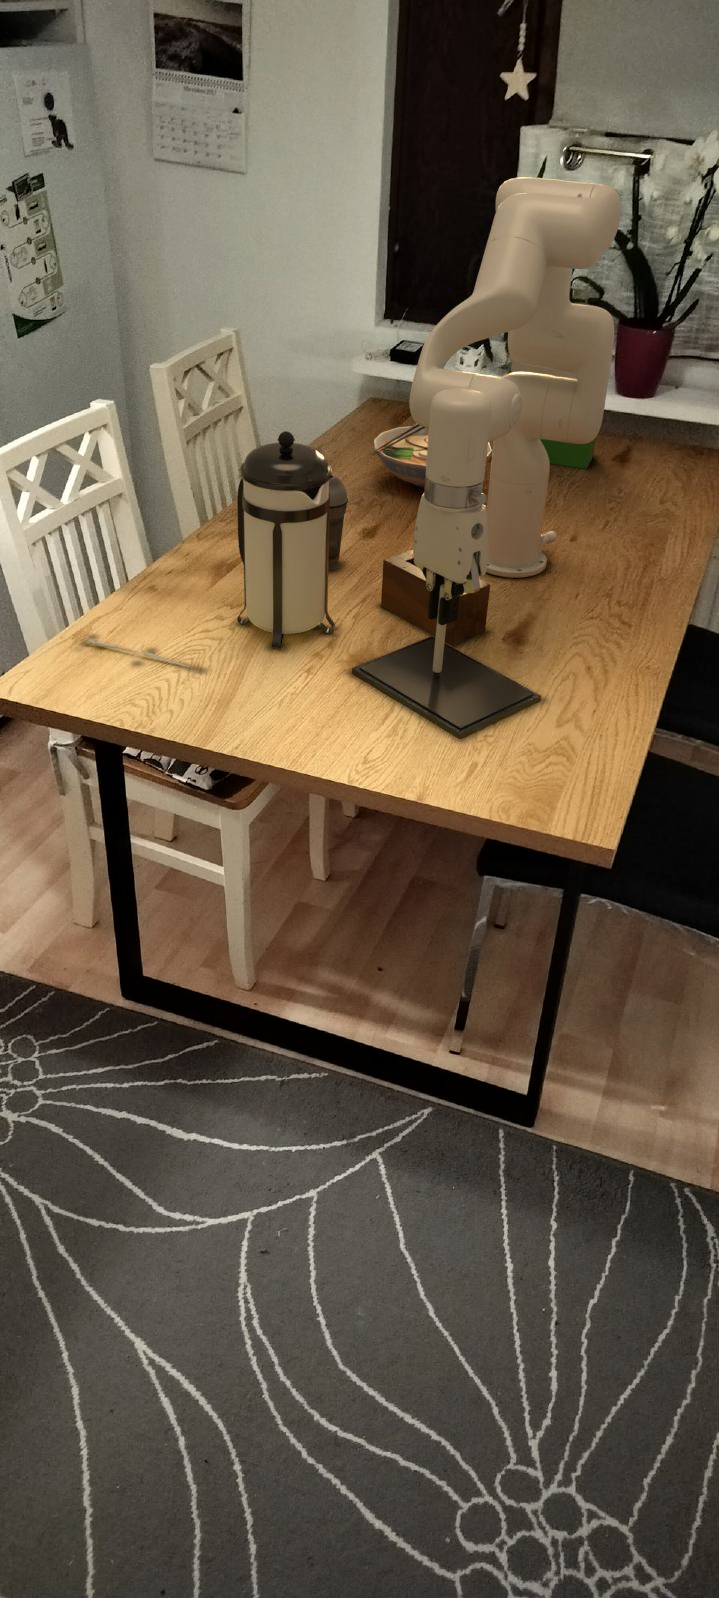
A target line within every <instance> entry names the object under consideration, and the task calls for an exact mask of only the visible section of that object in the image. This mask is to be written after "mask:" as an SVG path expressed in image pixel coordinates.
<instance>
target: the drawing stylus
mask: <svg viewBox="0 0 719 1598" xmlns="http://www.w3.org/2000/svg"><path fill="white" fill-rule="evenodd" d="M444 588H445V584H443V585H441V586H440V595H439V604H440V598H442V597H444ZM438 616H439V606H438ZM445 632H446V624H445V625H440V624H439V623H438V617H437V627H436V636H435V637H434V638H435V649H434V660H433V671H434V675H433V676H434V678H439V677H440V672H441V671H442V663H443V652H444V643H446V641H445Z"/></svg>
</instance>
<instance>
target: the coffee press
mask: <svg viewBox="0 0 719 1598" xmlns="http://www.w3.org/2000/svg"><path fill="white" fill-rule="evenodd" d="M295 441H296V439H295V437H294V435H293V434H292V432H290V431H287V430H285V431H282V432H281V433H279V435H278V438H277V442H272V443H266V444H263V445H260V446H258V447H255V448H254V449H253V450H251V451H250V452H249V453H248V454H247V455H246V457H245V459H244V461H243V462H242V463H241V465H240V469H239V471H240V473H239V474H240V476H241V479H240V481H239V484H238V487H237V497H236V498H237V540H238V541H237V542H238V551H239V554H240V559H241V562H242V565H243V585H244V586H243V588H244V589H243V590H244V591H243V592H244V607H243V609H242V610H241V611H240V612H239V614H238V616H237V619H236V620H237V623H238V624H240V625H246V624H247V623H248V622H251V623H252V624H253V625H254V626H255V627H257V628H258V629H261V630H263V631H265V632H269V633H272V636H271V648H273V649H282V647H283V641H284V636H285V635H292V634H300V633H304V632H307V631H310V630H312V629H315V628H316V627H319V628H320V629H321V630H322V631H323V632H325V633H326V634H332V633H333V632H334V630H335V627H336V623H335V622H334V621H333V619H332V617H330V615H329V609H328V608H329V605H328V603H329V602H328V601H329V571H328V562H329V519H330V516H329V510H330V493H329V491H328V489H329V480H330V478H331V476H332V475H333V472H332V471H333V470H332V466H331V465H330V463H329V462H328V459H327V457H325V455H324V454H323V452H322V453H321V452H319V451H318V449H316V448H314V447H312V446H310V445H307V444H302V443H298V442H297V443H296V442H295ZM245 609H246V615H247V616H246V617H247V618H246V619H243V618H242V617H241V615H242V614H243V613H244V611H245ZM324 618H325V619H326V621H327V623H328V624H329V625H330V626H331V627H330V628H329V627H327V626H326V625H325V624H324V623H323V620H324Z"/></svg>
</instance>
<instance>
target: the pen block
mask: <svg viewBox="0 0 719 1598" xmlns="http://www.w3.org/2000/svg"><path fill="white" fill-rule="evenodd" d="M382 561H383V562H382V580H381V599H380V607H381V608H383V609H385V610H387V611H389V612H391V613H392V614H394V615H396V616H398V617H400V618H402V619H404V620H405V621H407V622H409V623H411V624H413V625H415V626H416V627H418V628H420V629H422V630H424V631H425V632H427V633H430V634H431V635H433V636H435V637H436V627H437V618H436V619H433V620H431V619H429V618H428V609H429V596H430V591H428V590H427V587H426V579H425V577H424V574H423V571H421V570H420V569H419V568H418V567H417V566H416V565H415V564H414V555H413V549H410V550H407V551H404V552H401V553H399V554H395V555H393V556H389V557H386V558H384V559H383V560H382ZM479 581H480V590H479V591H477V592H474V593H464V594H463V595H461V596H460V597H459V608H458V618H457V620H455V621H453V622H450V623H448V624H446V632H445V643H447V644H448V645H449V644H450V646H455V645H458V644H461V643H462V642H464V641H468V640H470V639H472V638H475V637H477V636H480V635H482V634H484V633H486V630H487V620H488V610H489V602H490V595H491V593H490V592H491V584H490V583H488V582H486V581H485V580H482V579H480V578H479ZM455 585H456V583H454V586H455Z"/></svg>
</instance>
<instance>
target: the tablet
mask: <svg viewBox="0 0 719 1598" xmlns="http://www.w3.org/2000/svg"><path fill="white" fill-rule="evenodd" d="M435 638H436V637H434V636H428V637H426V638H424V639H422V640H419V641H416V642H414V643H411V644H408V645H407V646H404V647H402V648H399V649H396V650H394V651H391V652H388V653H387V654H384V655H382V656H379V657H377V658H373V659H372V660H369V661H366V662H364V663H361V664H359V665H356V666H355V667H352V668H351V674H353V675H354V676H356V677H357V678H359V679H360V680H362V681H364V682H365V683H367V684H369V685H371V686H373V687H374V688H375V689H377V690H378V691H381V692H382V693H384V694H386V695H387V696H389V697H391V698H392V699H394V700H396V701H397V702H399V703H400V704H402V705H403V706H405V707H407V708H409V710H412V711H413V712H415V713H417V714H418V715H420V716H422V717H423V718H425V719H427V720H429V721H430V722H432V723H433V724H435V725H437V726H438V727H440V728H442V729H443V730H445V731H447V732H449V734H452V735H453V736H455V737H457V738H458V739H462V738H465V737H467V736H469V735H471V734H473V733H475V732H478V731H480V730H481V729H482V730H483V729H484V728H486V727H488V726H490V725H492V724H494V723H497V722H498V721H501V720H503V719H505V718H507V717H509V716H511V715H513V714H515V713H517V712H520V711H522V710H523V709H526V708H528V707H530V706H532V705H534V704H536V703H538V702H541V699H542V695H541V694H539V693H537V692H535V691H534V690H532V689H529V688H527V687H526V686H524V685H523V684H521V683H519V682H517V681H515V680H514V679H511V678H509V677H508V676H506V675H504V674H502V673H500V672H498V671H497V670H494V668H491V667H489V666H488V665H486V664H483V663H481V662H480V661H479V660H477V659H475V658H474V657H471V656H469V655H467V654H466V653H464V652H462V651H460V650H458V649H456V648H455V647H454V646H453V647H452V645H449V644H448V643H446V642H444V652H443V663H442V671H441V672H440V677H439V678H434V676H433V675H434V671H433V660H434V649H435Z"/></svg>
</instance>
